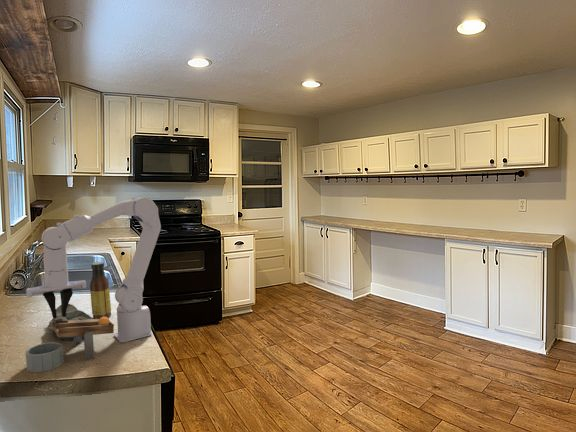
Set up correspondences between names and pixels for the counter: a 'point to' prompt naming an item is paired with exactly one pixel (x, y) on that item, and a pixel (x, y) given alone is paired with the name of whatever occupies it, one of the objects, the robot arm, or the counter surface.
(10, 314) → the counter surface
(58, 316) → the detergent
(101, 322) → the ball
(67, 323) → the lever
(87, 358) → the lever stand
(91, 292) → the sauce bottle
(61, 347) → the cup
